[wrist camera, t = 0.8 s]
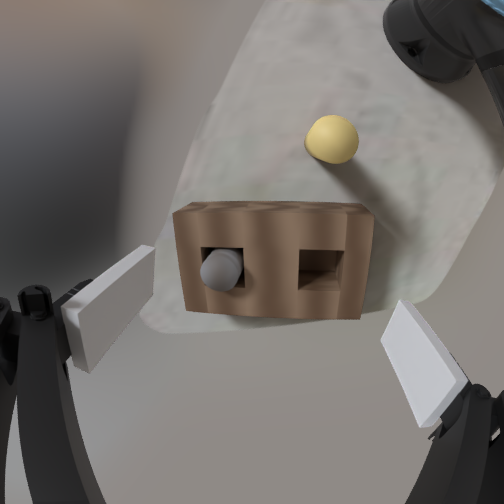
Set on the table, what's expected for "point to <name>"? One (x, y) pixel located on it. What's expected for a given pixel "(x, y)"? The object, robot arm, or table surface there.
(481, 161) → the table surface
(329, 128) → the peg
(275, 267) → the hole block
